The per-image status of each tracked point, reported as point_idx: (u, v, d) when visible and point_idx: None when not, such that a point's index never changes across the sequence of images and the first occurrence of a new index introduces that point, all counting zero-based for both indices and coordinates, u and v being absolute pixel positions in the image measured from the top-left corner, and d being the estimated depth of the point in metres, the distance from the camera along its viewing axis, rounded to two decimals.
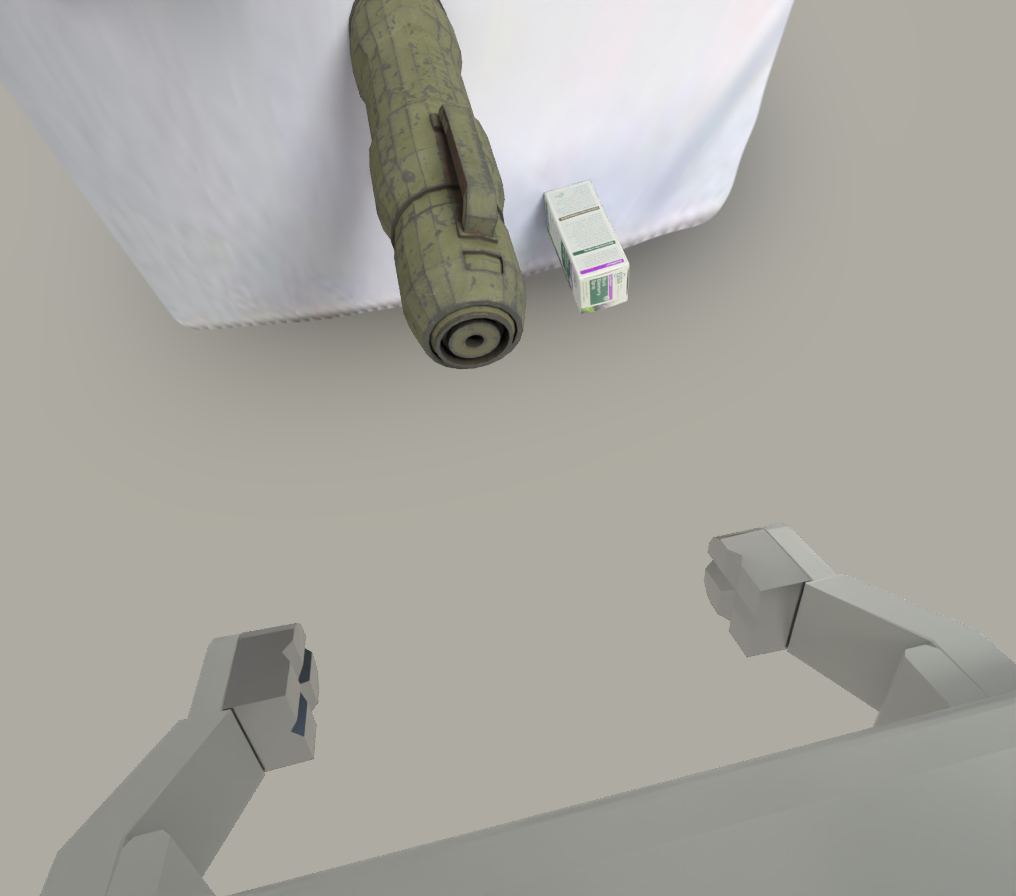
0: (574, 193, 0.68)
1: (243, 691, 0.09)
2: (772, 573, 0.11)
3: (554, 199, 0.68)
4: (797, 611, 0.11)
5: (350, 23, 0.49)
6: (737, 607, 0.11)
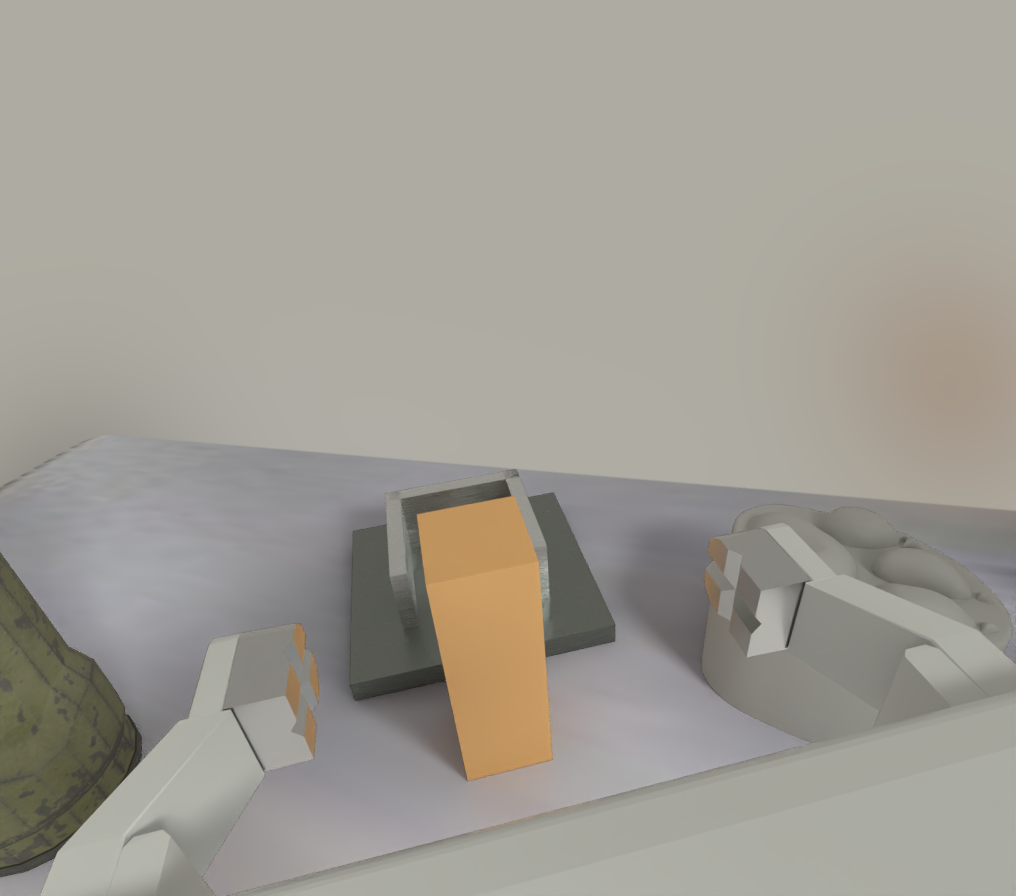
0: None
1: (243, 691, 0.09)
2: (772, 573, 0.11)
3: None
4: (798, 612, 0.11)
5: (127, 716, 0.34)
6: (737, 607, 0.11)
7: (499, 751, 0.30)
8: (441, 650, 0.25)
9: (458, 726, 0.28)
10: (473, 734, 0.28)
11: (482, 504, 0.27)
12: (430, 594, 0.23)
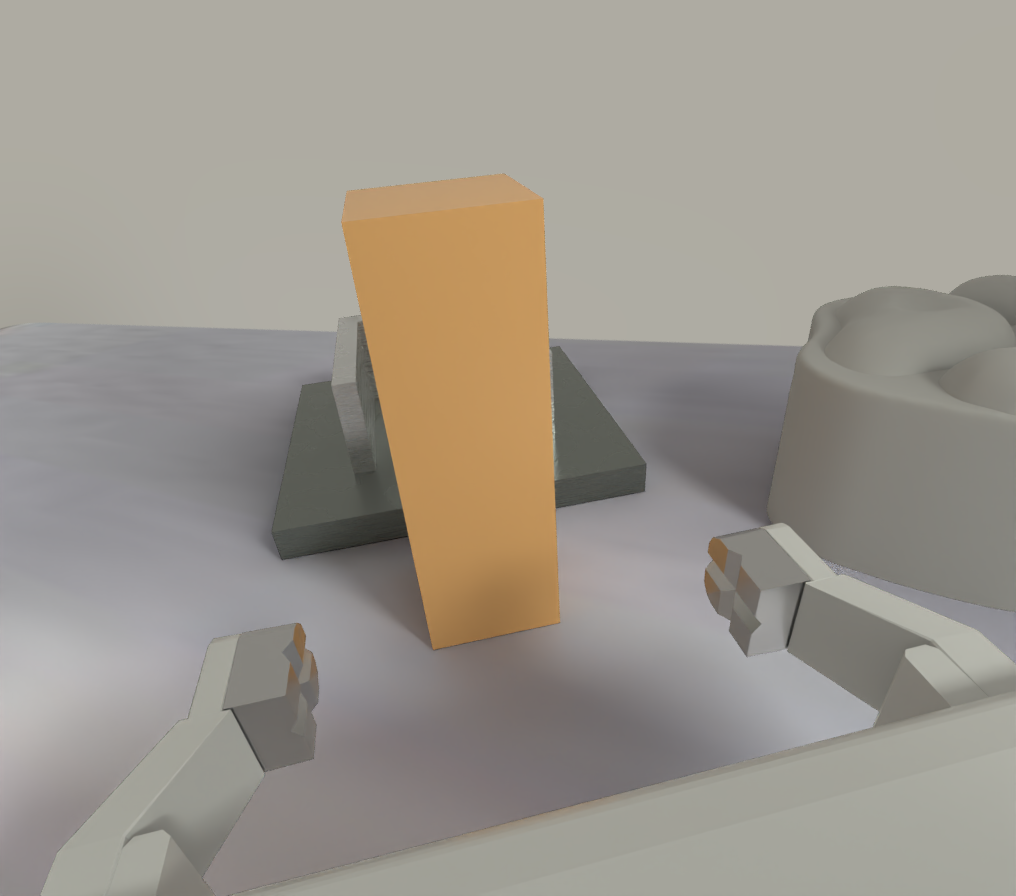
0: None
1: (243, 692, 0.09)
2: (772, 573, 0.11)
3: None
4: (797, 612, 0.11)
5: None
6: (737, 607, 0.11)
7: (480, 600, 0.20)
8: (378, 382, 0.15)
9: (413, 545, 0.18)
10: (438, 564, 0.18)
11: (452, 179, 0.17)
12: (352, 247, 0.13)
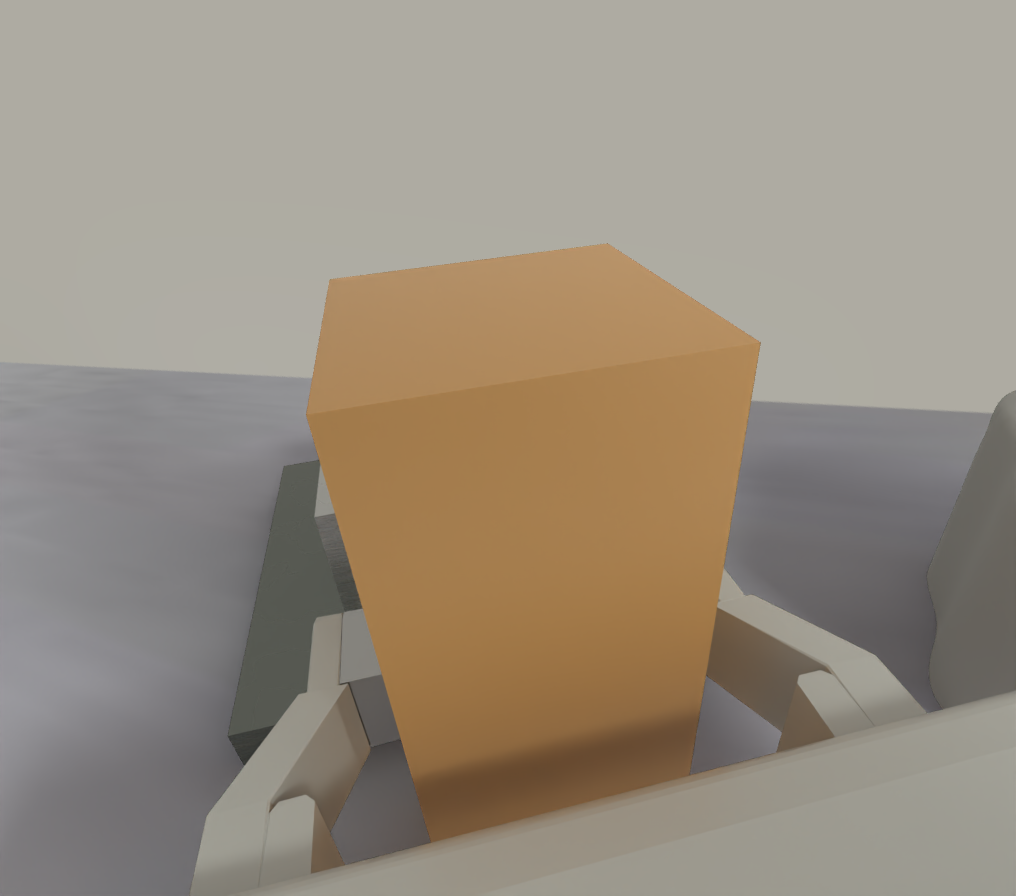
0: None
1: (357, 666, 0.10)
2: None
3: None
4: None
5: None
6: None
7: None
8: (390, 681, 0.07)
9: None
10: None
11: (518, 257, 0.09)
12: (332, 461, 0.06)
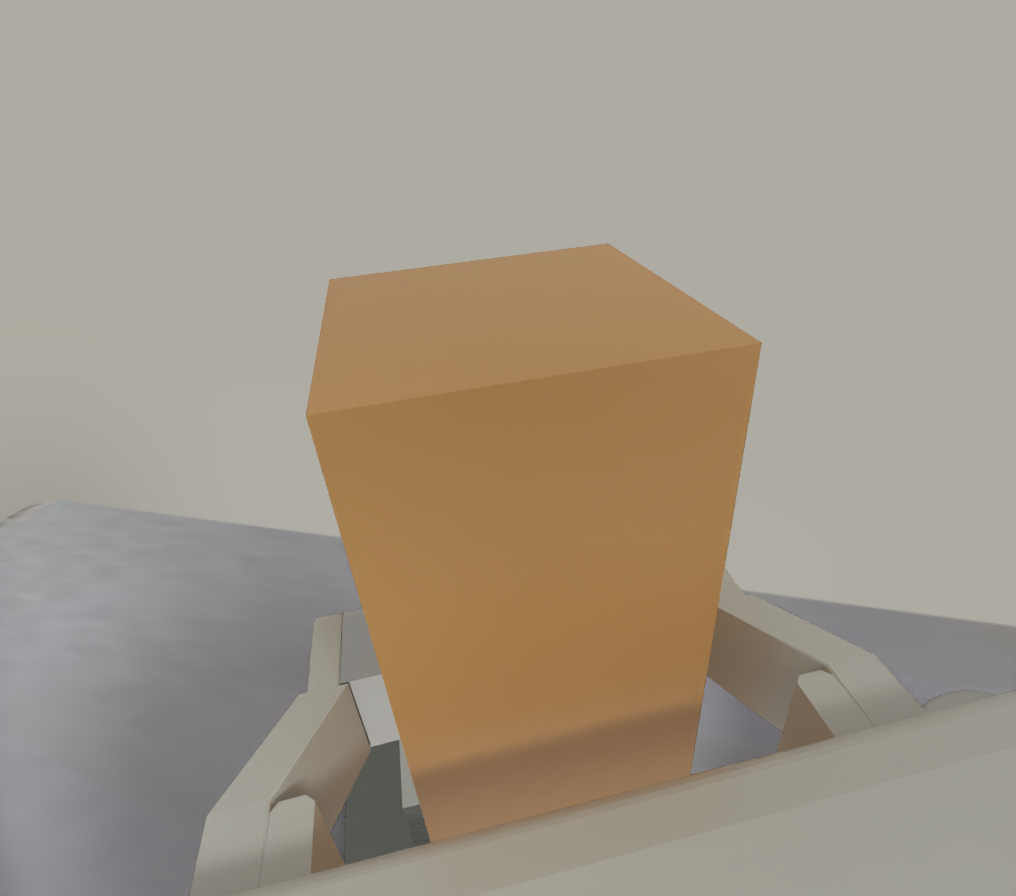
0: None
1: (357, 666, 0.10)
2: None
3: None
4: None
5: None
6: None
7: None
8: (390, 682, 0.07)
9: None
10: None
11: (518, 258, 0.09)
12: (332, 462, 0.06)
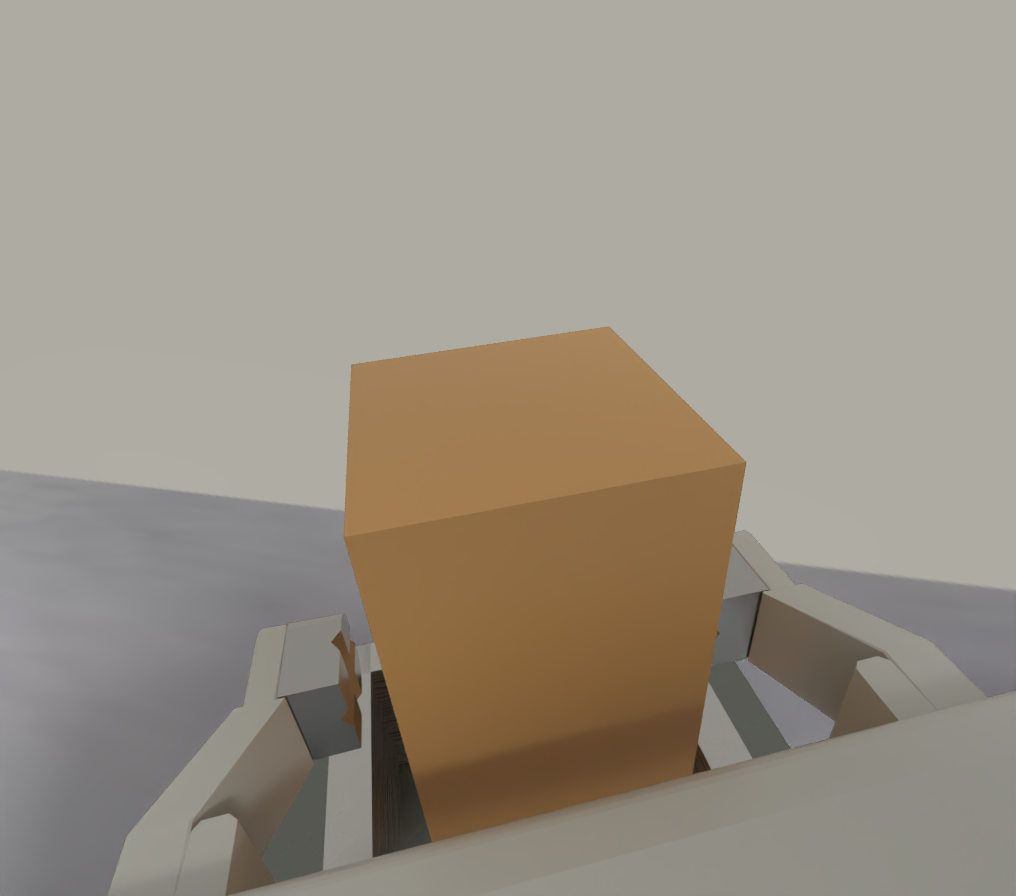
0: None
1: (296, 680, 0.09)
2: (730, 582, 0.10)
3: None
4: (756, 621, 0.11)
5: None
6: None
7: None
8: (410, 748, 0.08)
9: None
10: None
11: (526, 342, 0.10)
12: (366, 572, 0.06)
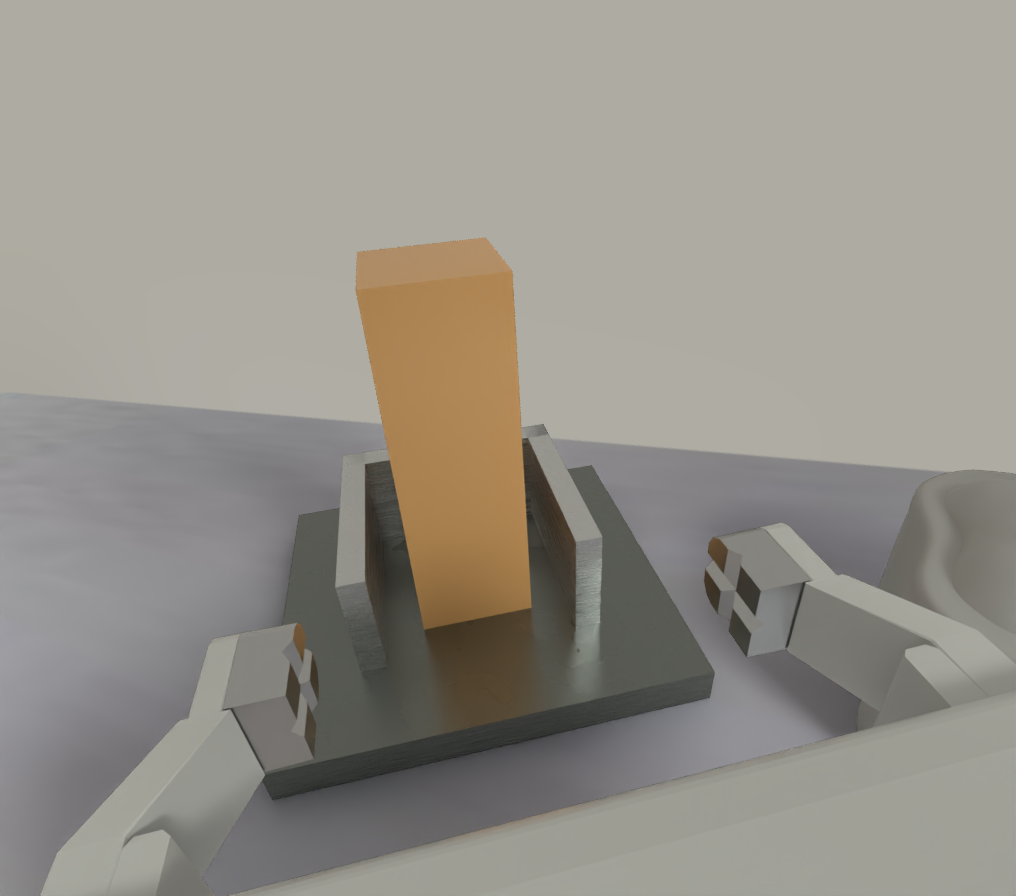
0: None
1: (242, 692, 0.09)
2: (772, 573, 0.11)
3: None
4: (797, 611, 0.11)
5: None
6: (737, 607, 0.11)
7: (463, 587, 0.23)
8: (382, 410, 0.19)
9: (409, 541, 0.22)
10: (428, 557, 0.22)
11: (442, 243, 0.21)
12: (363, 308, 0.17)
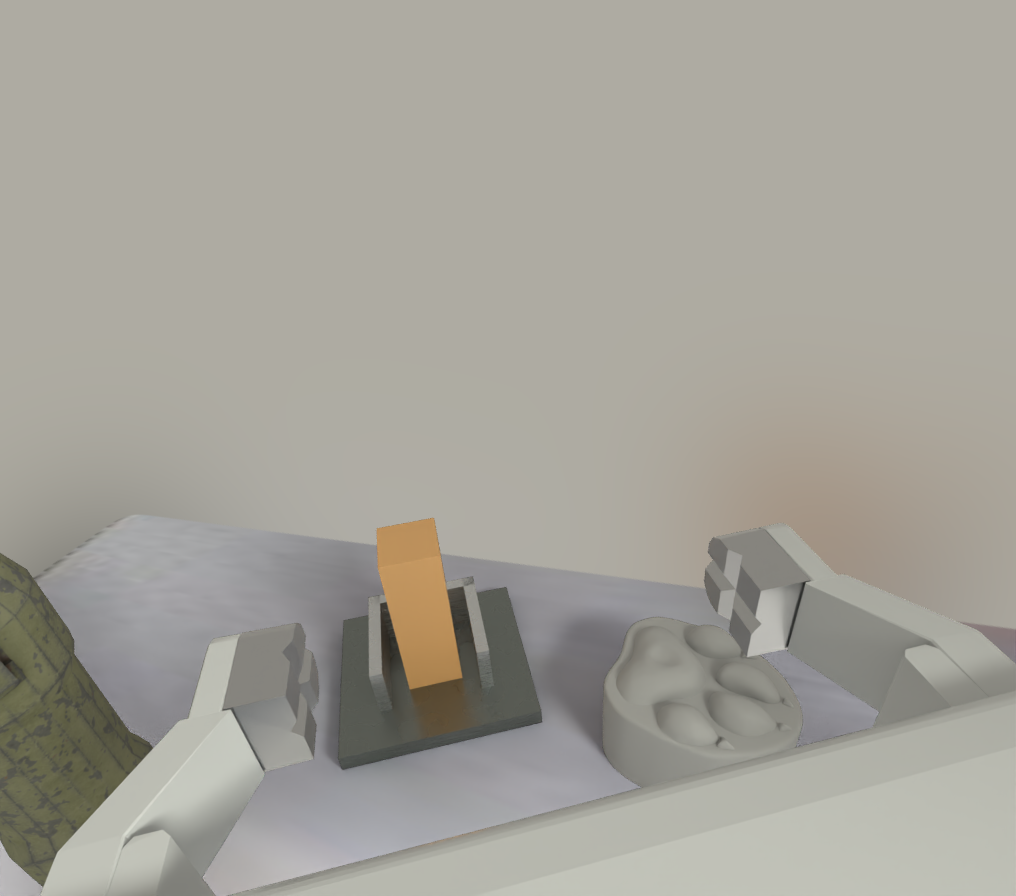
0: None
1: (242, 692, 0.09)
2: (772, 573, 0.11)
3: None
4: (797, 611, 0.11)
5: None
6: (737, 607, 0.11)
7: (428, 670, 0.49)
8: (388, 605, 0.45)
9: (401, 652, 0.47)
10: (410, 658, 0.48)
11: (414, 522, 0.47)
12: (380, 572, 0.43)
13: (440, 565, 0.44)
